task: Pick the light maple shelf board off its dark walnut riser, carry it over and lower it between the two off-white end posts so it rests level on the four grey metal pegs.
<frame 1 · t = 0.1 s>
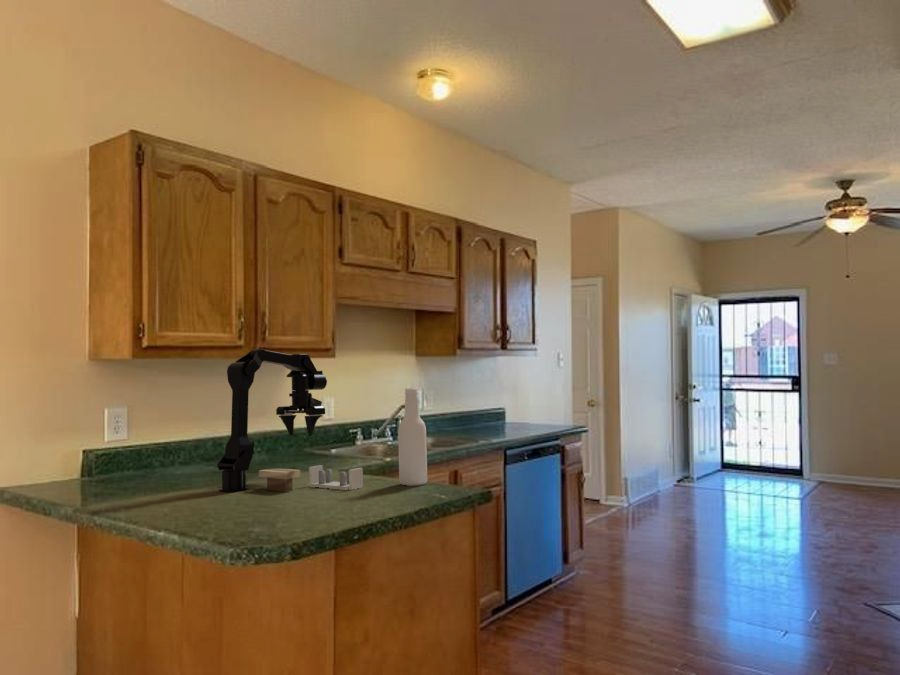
hand: (300, 435, 238), 15 cm above the countertop, fingers open, 9 cm apart
riser: (279, 490, 212), on the countertop
shelf board: (279, 476, 212), point 4 cm above the countertop, touching riser
alcohol: (413, 484, 217), on the countertop
peg frame: (335, 486, 215), on the countertop
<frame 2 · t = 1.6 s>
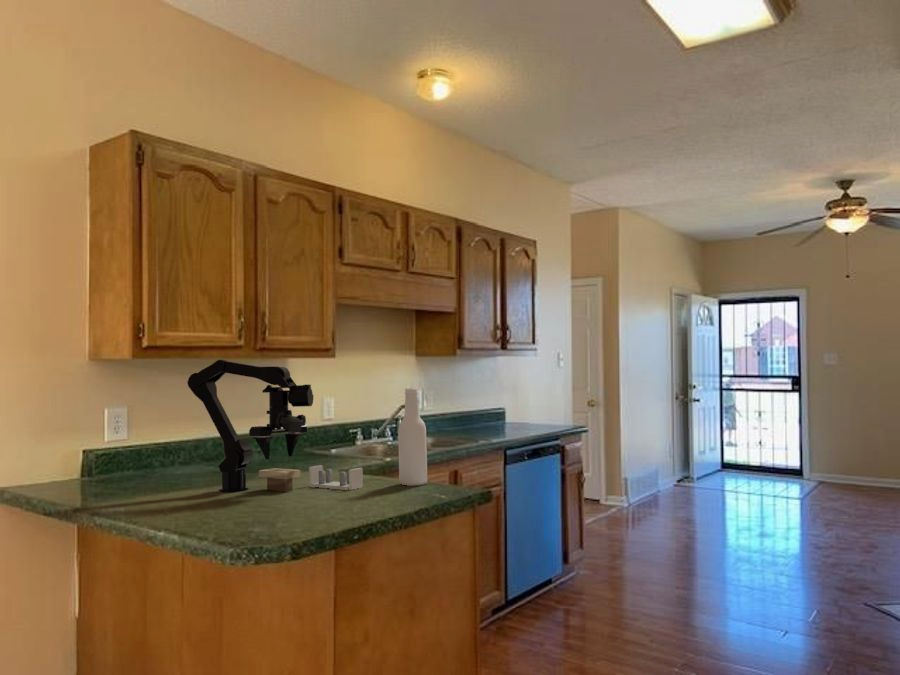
hand: (279, 457, 213), 10 cm above the countertop, fingers open, 9 cm apart
nothing on the countertop moved.
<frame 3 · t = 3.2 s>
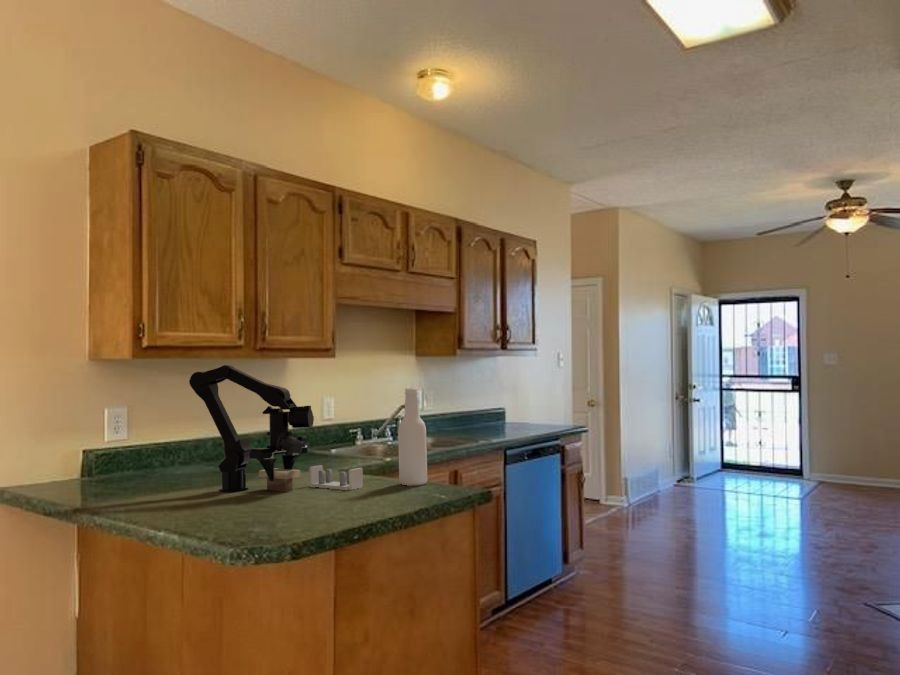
hand: (279, 479, 212), 3 cm above the countertop, fingers closed on shelf board, 6 cm apart
shelf board: (279, 476, 212), point 4 cm above the countertop, touching gripper, riser
everything else where it was.
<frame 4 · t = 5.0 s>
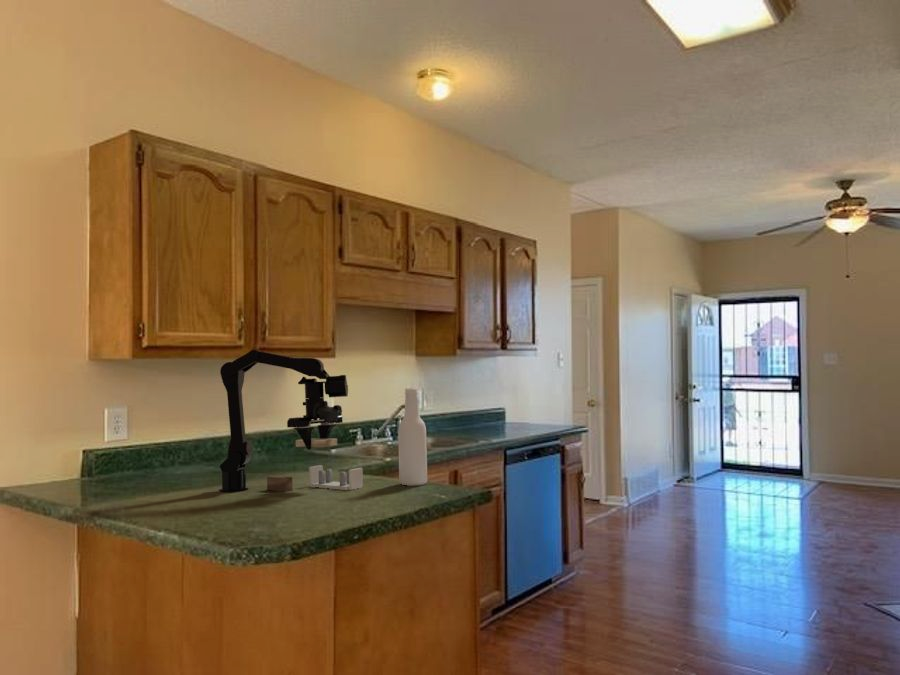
hand: (316, 448, 215), 12 cm above the countertop, fingers closed on shelf board, 6 cm apart
shelf board: (316, 445, 215), point 13 cm above the countertop, touching gripper
everything else where it was.
when the fingers open (6 cm above the countertop, at t = 7.3 s): shelf board drops 2 cm, resting on peg frame.
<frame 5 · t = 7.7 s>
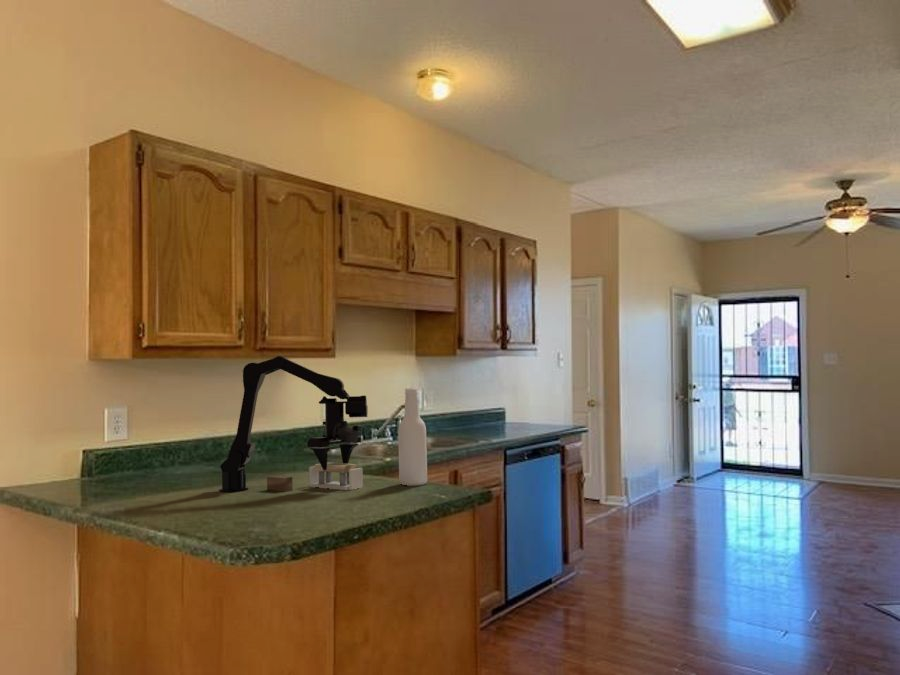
hand: (335, 468, 216), 6 cm above the countertop, fingers open, 9 cm apart
shelf board: (335, 470, 216), point 5 cm above the countertop, touching peg frame
everything else where it was.
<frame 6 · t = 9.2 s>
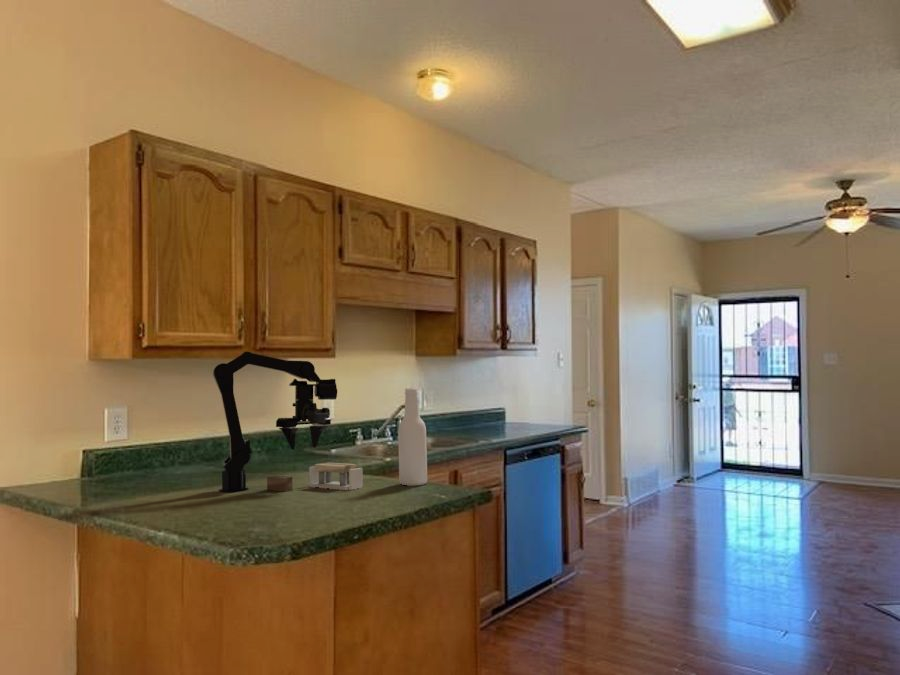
hand: (303, 448, 222), 12 cm above the countertop, fingers open, 9 cm apart
nothing on the countertop moved.
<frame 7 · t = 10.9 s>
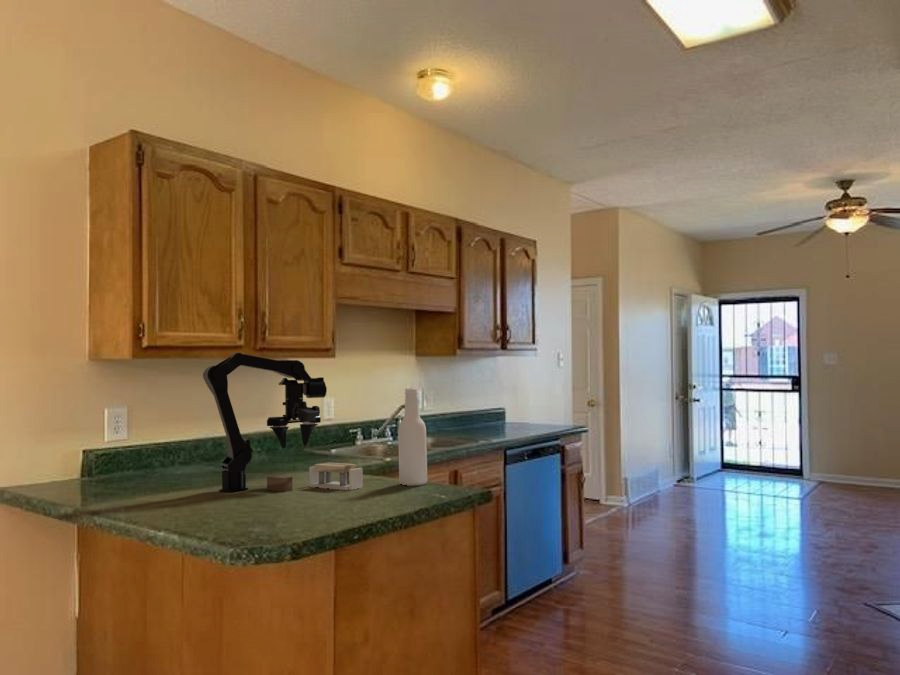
hand: (294, 446, 225), 12 cm above the countertop, fingers open, 9 cm apart
nothing on the countertop moved.
at the end: shelf board 0.0 cm off-centre on the peg frame, point 5.0 cm above the peg frame's base; shelf board tilted 0°; the gripper is holding nothing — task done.
